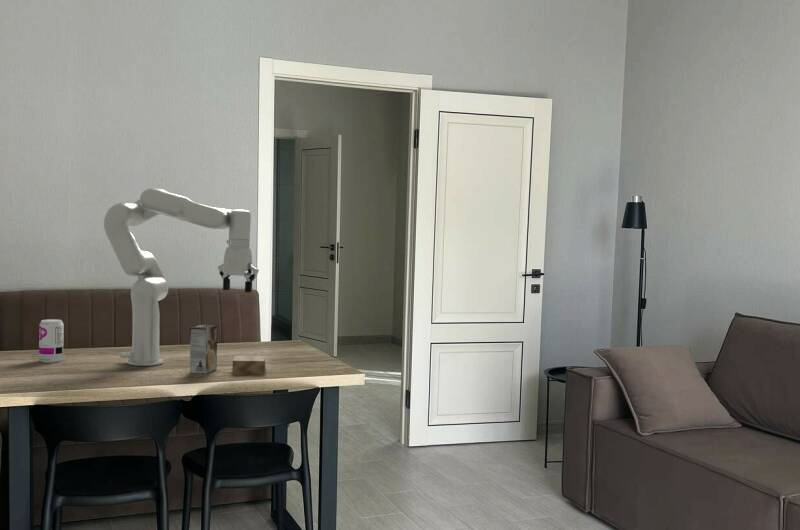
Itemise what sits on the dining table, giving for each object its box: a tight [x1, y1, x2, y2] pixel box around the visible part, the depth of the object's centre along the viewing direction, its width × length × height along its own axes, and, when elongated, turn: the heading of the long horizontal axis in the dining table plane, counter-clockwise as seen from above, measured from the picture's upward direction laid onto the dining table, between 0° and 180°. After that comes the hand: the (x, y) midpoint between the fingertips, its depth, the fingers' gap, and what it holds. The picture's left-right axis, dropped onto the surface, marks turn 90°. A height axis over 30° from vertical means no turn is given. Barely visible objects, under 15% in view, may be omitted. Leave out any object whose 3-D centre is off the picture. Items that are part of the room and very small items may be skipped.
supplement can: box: [38, 318, 65, 364], centre depth 297 cm, size 8×8×15 cm
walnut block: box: [232, 355, 267, 375], centre depth 290 cm, size 11×11×5 cm
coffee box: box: [189, 324, 218, 375], centre depth 287 cm, size 9×6×16 cm
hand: (237, 291), depth 295 cm, fingers open, 9 cm apart
